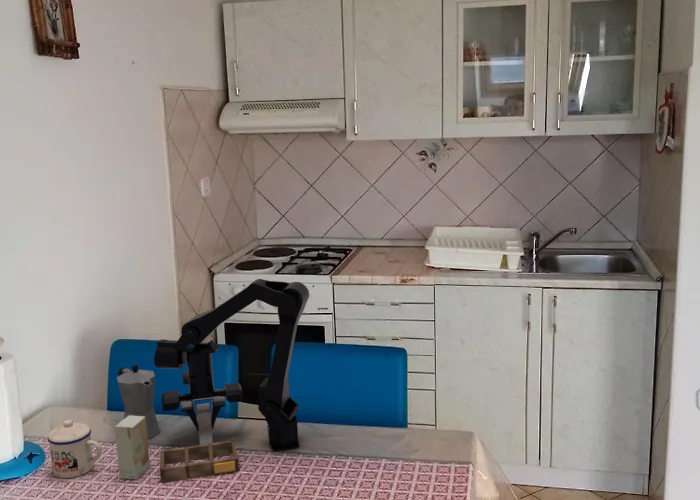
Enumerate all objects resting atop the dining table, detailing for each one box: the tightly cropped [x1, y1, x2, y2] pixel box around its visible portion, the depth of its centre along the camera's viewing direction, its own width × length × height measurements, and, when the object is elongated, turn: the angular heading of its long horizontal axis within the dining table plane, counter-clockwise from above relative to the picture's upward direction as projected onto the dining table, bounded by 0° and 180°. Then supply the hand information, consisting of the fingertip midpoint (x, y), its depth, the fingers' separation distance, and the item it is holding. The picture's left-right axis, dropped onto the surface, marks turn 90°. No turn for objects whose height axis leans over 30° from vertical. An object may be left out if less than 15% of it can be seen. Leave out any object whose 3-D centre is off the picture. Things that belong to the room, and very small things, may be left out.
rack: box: [159, 439, 240, 484], centre depth 156 cm, size 17×10×3 cm, turn 104°
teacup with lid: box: [47, 419, 103, 479], centre depth 156 cm, size 12×9×12 cm
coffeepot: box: [116, 364, 161, 440], centre depth 173 cm, size 15×9×18 cm, turn 44°
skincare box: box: [114, 415, 151, 480], centre depth 154 cm, size 6×4×12 cm
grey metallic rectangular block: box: [196, 402, 214, 445], centre depth 168 cm, size 3×6×8 cm, turn 14°
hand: (205, 429), depth 169 cm, fingers closed on grey metallic rectangular block, 3 cm apart
